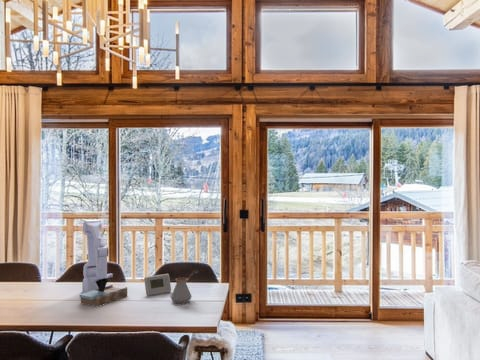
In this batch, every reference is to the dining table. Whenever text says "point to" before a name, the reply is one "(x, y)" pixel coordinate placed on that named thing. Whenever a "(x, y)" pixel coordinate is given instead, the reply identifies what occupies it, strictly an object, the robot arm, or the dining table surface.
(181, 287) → the coffee pot
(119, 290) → the slide box
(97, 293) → the lid plate
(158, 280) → the digital clock
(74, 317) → the dining table surface
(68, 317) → the dining table surface
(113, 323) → the dining table surface
